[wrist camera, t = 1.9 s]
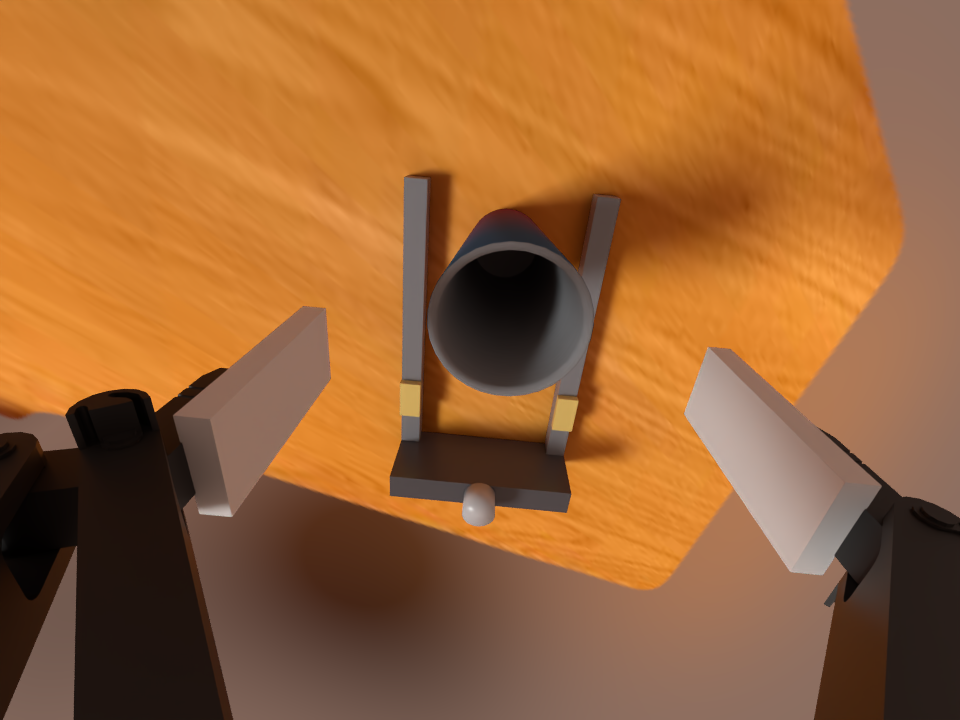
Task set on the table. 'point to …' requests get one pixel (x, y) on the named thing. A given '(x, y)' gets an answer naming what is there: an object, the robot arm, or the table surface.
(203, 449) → the robot arm
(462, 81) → the table surface
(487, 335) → the cup
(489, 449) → the grey u-shaped fork
